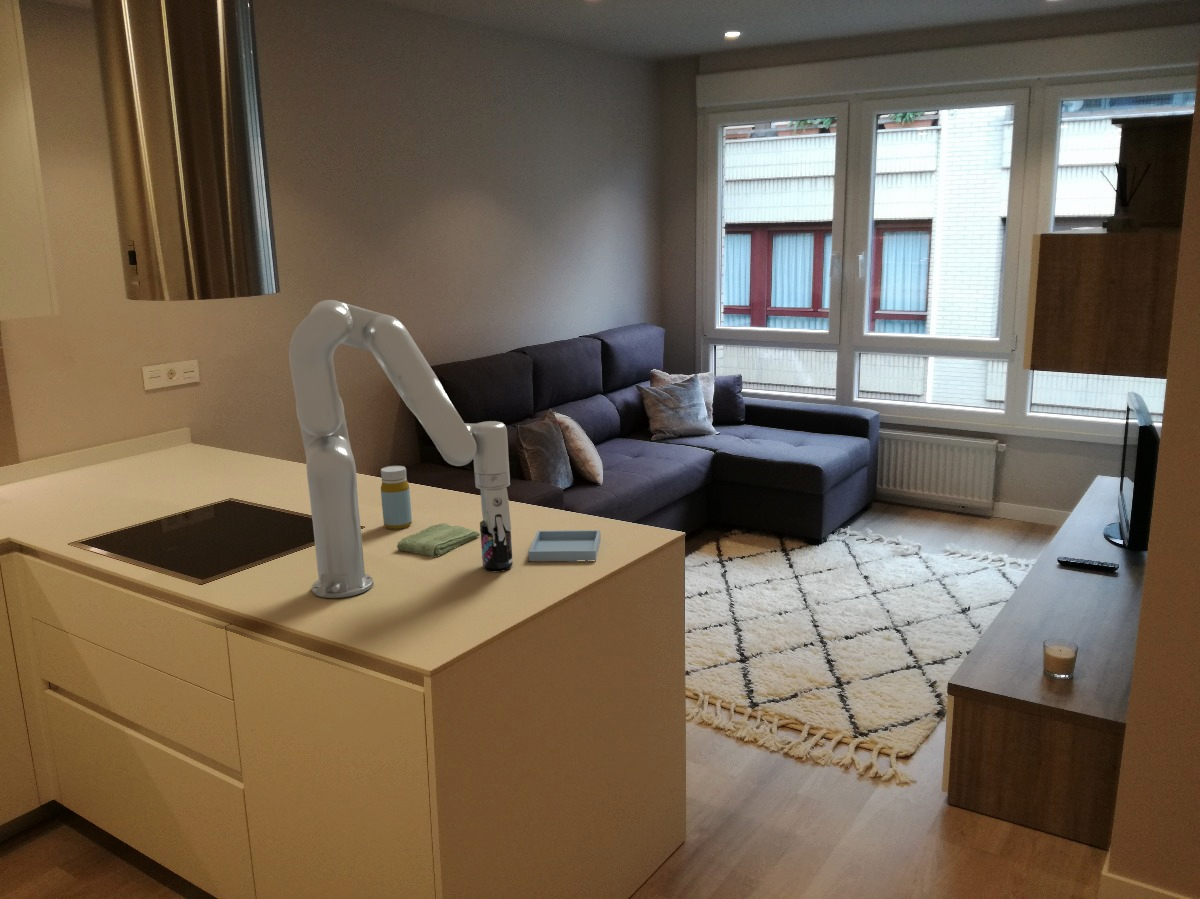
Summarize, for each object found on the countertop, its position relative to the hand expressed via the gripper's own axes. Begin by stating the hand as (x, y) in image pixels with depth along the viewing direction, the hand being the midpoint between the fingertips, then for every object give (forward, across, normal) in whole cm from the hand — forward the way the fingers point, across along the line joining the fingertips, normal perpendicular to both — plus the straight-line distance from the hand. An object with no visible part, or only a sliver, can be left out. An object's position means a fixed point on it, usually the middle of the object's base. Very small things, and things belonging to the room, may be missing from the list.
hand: (497, 556), depth 218 cm
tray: (+3, +6, -17) cm, 18 cm away
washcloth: (+3, +22, +10) cm, 24 cm away
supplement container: (+3, 0, 0) cm, 3 cm away
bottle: (+3, +40, +19) cm, 44 cm away
